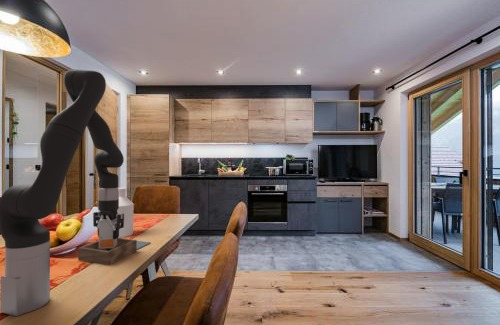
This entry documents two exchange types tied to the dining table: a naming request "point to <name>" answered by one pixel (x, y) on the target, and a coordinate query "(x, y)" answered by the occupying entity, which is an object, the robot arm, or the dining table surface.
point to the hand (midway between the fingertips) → (108, 237)
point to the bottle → (125, 213)
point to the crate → (107, 252)
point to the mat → (141, 244)
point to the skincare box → (106, 234)
